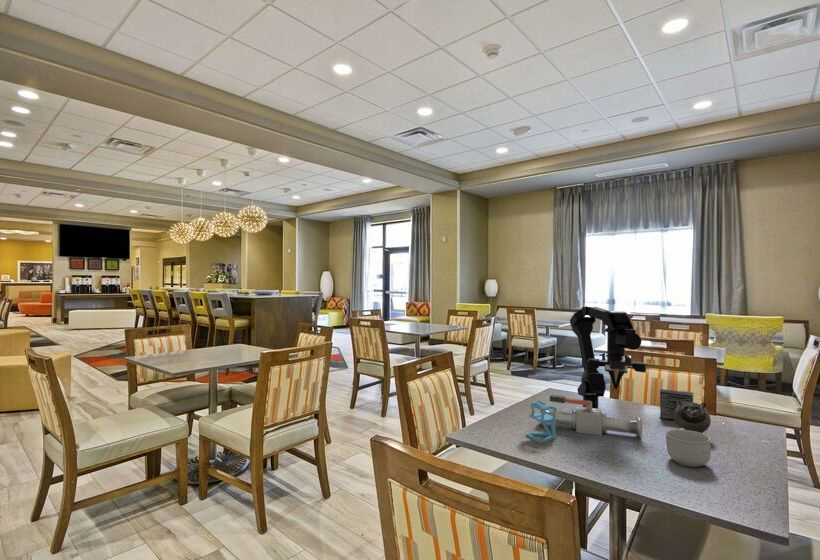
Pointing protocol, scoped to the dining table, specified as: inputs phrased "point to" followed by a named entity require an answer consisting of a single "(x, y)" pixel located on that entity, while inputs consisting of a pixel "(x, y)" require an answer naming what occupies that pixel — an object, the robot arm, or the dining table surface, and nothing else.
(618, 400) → the dining table surface
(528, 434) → the chair
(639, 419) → the valve manifold
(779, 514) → the dining table surface
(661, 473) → the dining table surface
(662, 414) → the small box
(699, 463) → the teacup
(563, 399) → the valve lever
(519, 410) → the dining table surface
